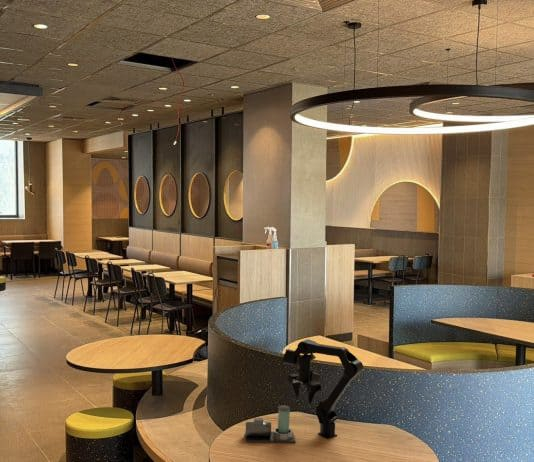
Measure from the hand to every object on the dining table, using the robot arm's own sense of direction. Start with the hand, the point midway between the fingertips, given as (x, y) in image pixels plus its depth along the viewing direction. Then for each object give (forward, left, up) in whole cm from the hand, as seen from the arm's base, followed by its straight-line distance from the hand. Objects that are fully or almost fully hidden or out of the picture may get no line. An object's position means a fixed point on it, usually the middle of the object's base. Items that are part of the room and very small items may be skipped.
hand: (303, 400), depth 274 cm
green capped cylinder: (-5, +15, -12) cm, 20 cm away
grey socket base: (-2, +20, -13) cm, 24 cm away
